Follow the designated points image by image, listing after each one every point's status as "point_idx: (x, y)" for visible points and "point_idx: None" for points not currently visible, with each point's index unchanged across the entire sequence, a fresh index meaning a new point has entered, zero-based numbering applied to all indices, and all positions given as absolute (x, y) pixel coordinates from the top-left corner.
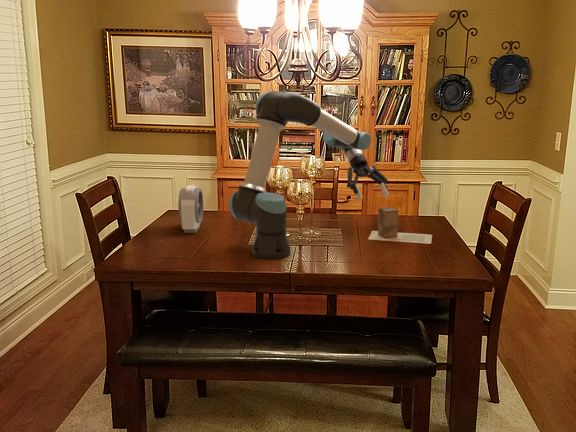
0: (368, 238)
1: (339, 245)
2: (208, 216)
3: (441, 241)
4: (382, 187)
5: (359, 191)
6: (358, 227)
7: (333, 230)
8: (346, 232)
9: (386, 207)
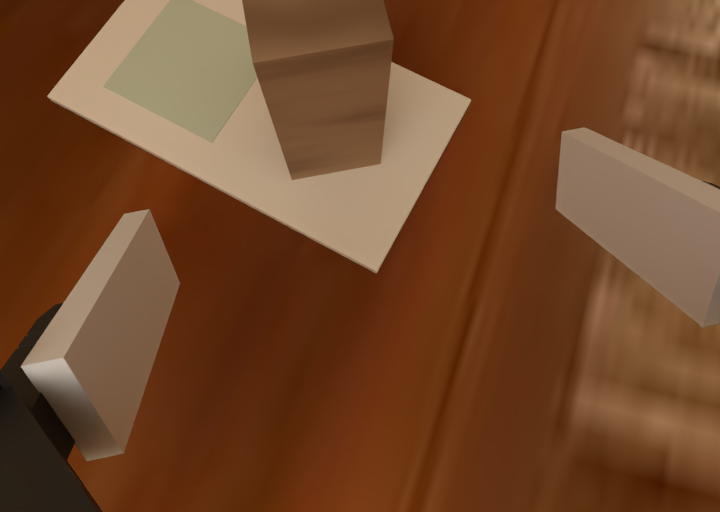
0: (462, 114)
1: (655, 63)
2: None
3: (70, 3)
4: (119, 339)
5: (641, 162)
6: (429, 421)
7: (636, 384)
8: (553, 309)
9: (304, 48)
